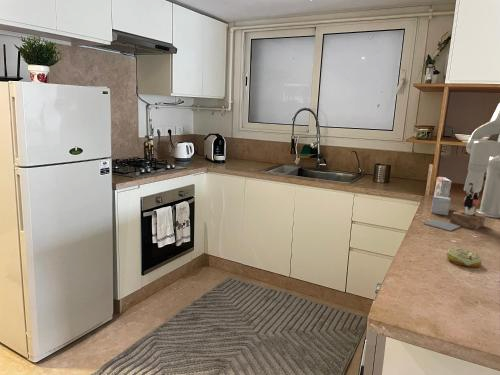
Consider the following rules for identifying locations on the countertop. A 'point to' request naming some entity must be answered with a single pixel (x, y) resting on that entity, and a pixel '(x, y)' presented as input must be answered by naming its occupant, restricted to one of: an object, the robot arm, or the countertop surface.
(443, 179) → the candy bar box
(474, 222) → the eye block
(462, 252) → the decorated donut
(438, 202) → the medicine box
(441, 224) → the rubber mat
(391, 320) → the countertop surface
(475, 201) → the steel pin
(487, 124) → the robot arm
